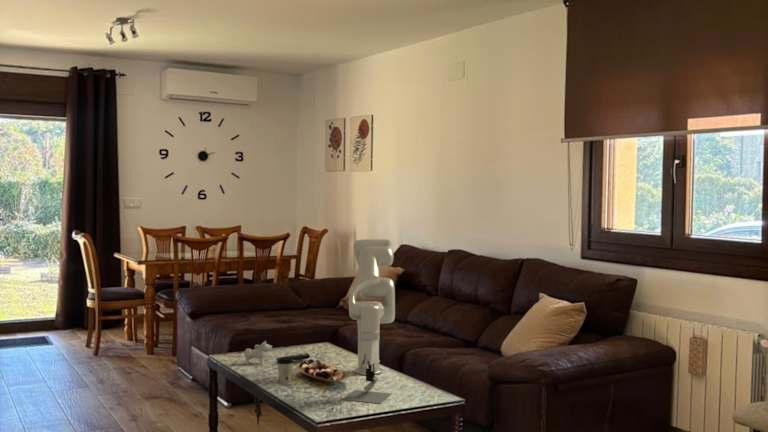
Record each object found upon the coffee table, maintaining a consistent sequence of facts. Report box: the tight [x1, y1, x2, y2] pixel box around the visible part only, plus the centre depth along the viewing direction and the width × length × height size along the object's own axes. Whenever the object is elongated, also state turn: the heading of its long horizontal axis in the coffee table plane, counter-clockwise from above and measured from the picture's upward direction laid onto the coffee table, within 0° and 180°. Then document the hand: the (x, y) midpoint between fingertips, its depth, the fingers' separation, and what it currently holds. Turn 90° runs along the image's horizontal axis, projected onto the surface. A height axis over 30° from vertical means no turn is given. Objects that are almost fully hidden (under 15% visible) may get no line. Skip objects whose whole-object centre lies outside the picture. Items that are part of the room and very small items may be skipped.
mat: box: [341, 389, 392, 405], centre depth 305 cm, size 14×16×1 cm
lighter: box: [363, 375, 379, 392], centre depth 308 cm, size 7×2×8 cm
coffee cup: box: [277, 356, 294, 384], centre depth 327 cm, size 7×7×10 cm
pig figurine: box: [244, 340, 273, 366], centre depth 358 cm, size 5×13×11 cm, turn 98°
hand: (370, 380), depth 307 cm, fingers closed
